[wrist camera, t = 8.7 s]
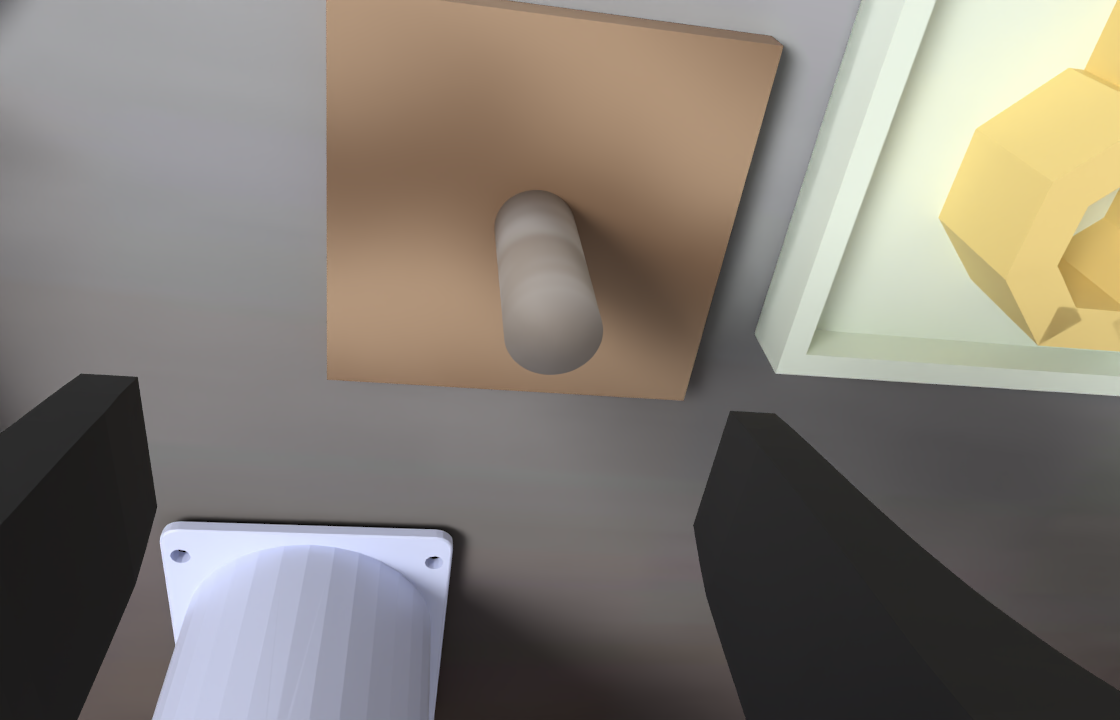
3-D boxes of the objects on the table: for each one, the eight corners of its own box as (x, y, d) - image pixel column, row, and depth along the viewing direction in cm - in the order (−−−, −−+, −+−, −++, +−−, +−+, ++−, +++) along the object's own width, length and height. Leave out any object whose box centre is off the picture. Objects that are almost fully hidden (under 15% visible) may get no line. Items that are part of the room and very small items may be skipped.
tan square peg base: (677, 382, 23) (727, 521, 19) (330, 361, 22) (300, 507, 17) (771, 36, 18) (869, 117, 14) (331, -24, 17) (289, 48, 12)
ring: (1258, 9, 18) (1385, 47, 16) (1101, 290, 22) (1182, 356, 20) (1039, -25, 17) (1136, 10, 15) (914, 274, 21) (974, 341, 19)
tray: (1143, 362, 24) (1187, 400, 23) (754, 333, 22) (775, 373, 21) (1430, -96, 18) (1517, -83, 16) (922, -191, 16) (970, -186, 15)
